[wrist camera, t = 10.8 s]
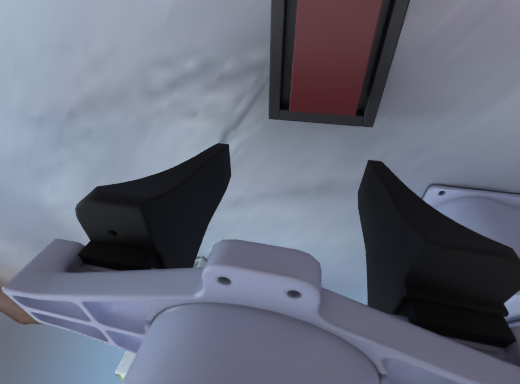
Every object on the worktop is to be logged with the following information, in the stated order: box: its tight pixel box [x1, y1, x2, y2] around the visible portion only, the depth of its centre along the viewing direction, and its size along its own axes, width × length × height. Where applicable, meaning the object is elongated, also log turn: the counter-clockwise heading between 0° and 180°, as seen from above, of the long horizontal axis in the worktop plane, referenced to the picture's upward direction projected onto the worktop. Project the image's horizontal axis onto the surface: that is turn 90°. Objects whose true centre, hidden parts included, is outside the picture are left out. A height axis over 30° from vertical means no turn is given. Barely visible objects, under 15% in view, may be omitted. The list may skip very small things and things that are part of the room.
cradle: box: [269, 0, 410, 127], centre depth 15 cm, size 8×14×2 cm, turn 0°
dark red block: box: [289, 0, 383, 116], centre depth 14 cm, size 4×10×4 cm, turn 0°
